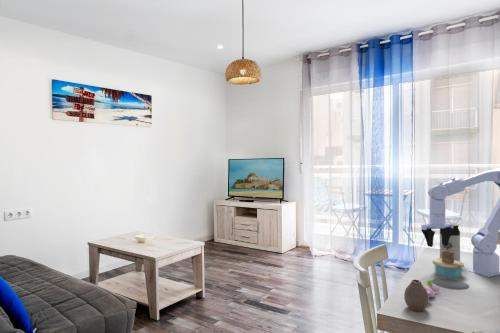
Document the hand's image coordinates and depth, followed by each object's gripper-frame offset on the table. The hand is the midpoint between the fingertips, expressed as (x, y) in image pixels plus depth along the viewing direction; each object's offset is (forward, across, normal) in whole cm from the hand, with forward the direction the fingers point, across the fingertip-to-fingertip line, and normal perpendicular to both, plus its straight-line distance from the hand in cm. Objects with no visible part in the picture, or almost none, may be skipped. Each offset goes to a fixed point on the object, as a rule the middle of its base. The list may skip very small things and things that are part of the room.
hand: (437, 245), depth 145 cm
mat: (+10, -9, -16) cm, 21 cm away
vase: (+11, -36, -30) cm, 48 cm away
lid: (+6, -1, -6) cm, 9 cm away
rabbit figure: (+11, -26, -23) cm, 36 cm away
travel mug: (+11, +14, +8) cm, 19 cm away
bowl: (+10, -1, -6) cm, 12 cm away
